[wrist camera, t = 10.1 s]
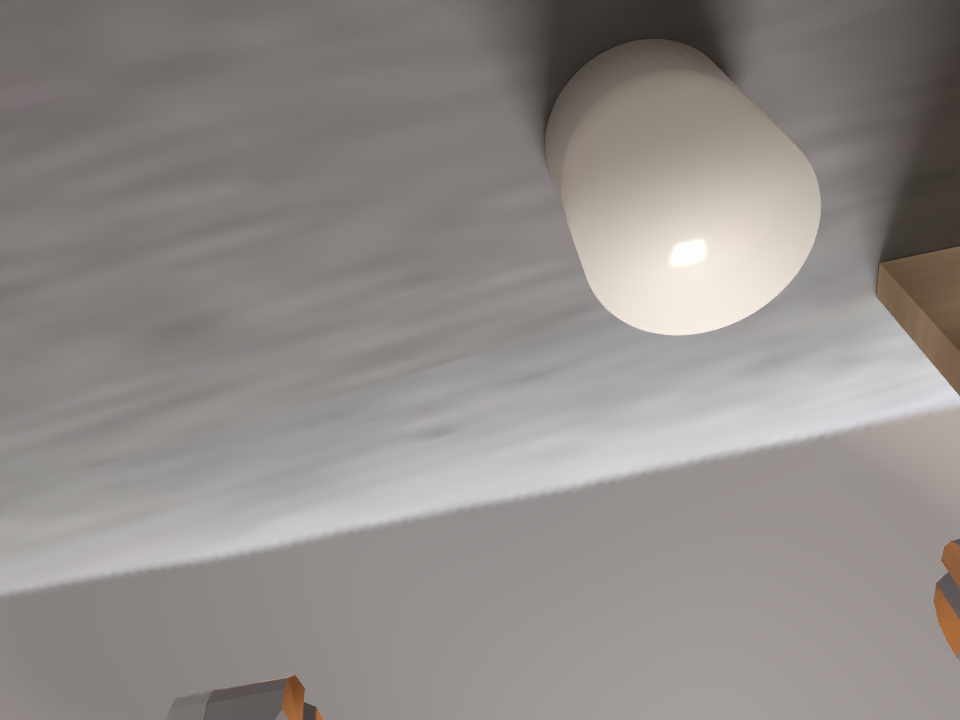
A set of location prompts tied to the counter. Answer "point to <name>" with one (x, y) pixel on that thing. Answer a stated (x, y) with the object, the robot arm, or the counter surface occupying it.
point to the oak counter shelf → (927, 305)
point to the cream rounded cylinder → (677, 189)
